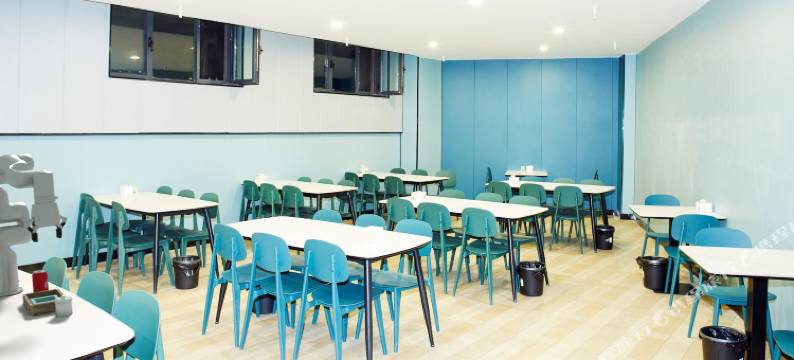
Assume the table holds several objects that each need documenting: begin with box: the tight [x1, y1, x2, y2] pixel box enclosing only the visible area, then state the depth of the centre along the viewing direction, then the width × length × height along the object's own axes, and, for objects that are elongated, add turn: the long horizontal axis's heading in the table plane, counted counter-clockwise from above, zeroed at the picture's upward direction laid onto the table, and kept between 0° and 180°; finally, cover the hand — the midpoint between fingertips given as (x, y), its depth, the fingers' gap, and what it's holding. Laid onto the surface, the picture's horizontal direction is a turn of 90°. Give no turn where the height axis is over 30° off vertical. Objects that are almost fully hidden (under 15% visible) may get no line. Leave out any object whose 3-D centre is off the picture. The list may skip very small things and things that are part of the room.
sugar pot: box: [54, 294, 73, 318], centre depth 247 cm, size 7×7×8 cm
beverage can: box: [31, 269, 50, 293], centre depth 274 cm, size 6×6×12 cm
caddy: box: [22, 288, 66, 317], centre depth 258 cm, size 22×14×4 cm, turn 40°
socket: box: [30, 295, 59, 305], centre depth 258 cm, size 10×10×2 cm
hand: (47, 239), depth 254 cm, fingers open, 9 cm apart
